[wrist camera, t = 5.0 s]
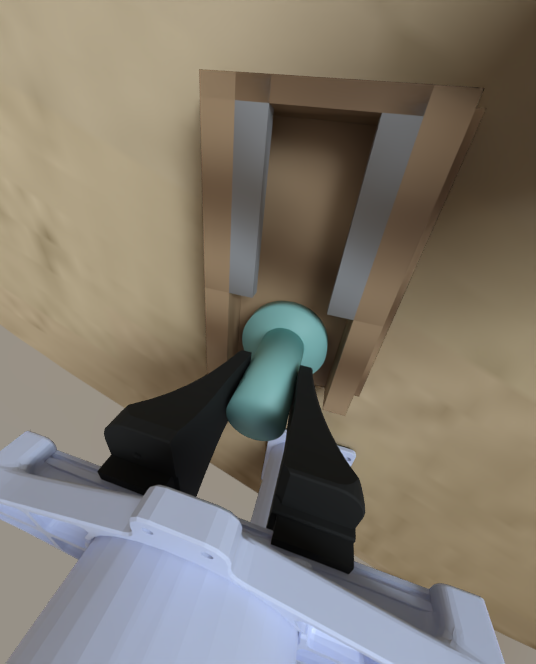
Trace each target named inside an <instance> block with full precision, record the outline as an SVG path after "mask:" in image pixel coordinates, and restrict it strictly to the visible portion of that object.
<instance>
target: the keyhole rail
mask: <svg viewBox="0 0 536 664" xmlns="http://www.w3.org/2000/svg"><path fill="white" fill-rule="evenodd" d="M199 83H200V122H201V161H202V200H203V239H204V277H205V316H206V355H207V374H208V373H210V372H212V371H213V370H215V369H216V368H218V367H219V366H220V365H222V364H223V363H225V362H226V361H227V360H229V359H230V358H231V357H233V356H234V355H235V354H236V353H238V352H239V351H241V350H244V347H243V342H242V335H243V330H244V327H245V325H246V323H247V322H248V320H249V319H250V318H251V316H252V315H253V313H254V312H255V311H256V310H257V309H258V308H260V307H261V306H263V305H265V304H267V303H270V302H275V301H291V302H295V303H298V304H301V305H303V306H305V307H307V308H309V309H310V310H312V311H313V312H314V313H315V314H316V315H317V316H318V317H319V318H320V319H321V321H322V322H323V324H324V326H325V328H326V331H327V335H328V345H327V354H326V358H325V360H324V363H323V364H322V366H321V367H320V368H319V369H318V370H317V371H316V372H315V373H313V381H314V385H317V386H321V387H325V391H324V402H323V410H325V411H329V412H333V413H336V414H340V415H343V416H345V415H346V413H347V410H348V408H349V406H350V403H351V401H352V399H353V396H358V397H359V395H360V393H361V391H362V388H363V386H364V384H365V382H366V379H367V377H368V375H369V373H370V370H371V368H372V366H373V364H374V361H375V359H376V357H377V354H378V352H379V350H380V348H381V345H382V343H383V341H384V339H385V336H386V334H387V332H388V330H389V327H390V325H391V323H392V321H393V318H394V316H395V314H396V312H397V309H398V307H399V305H400V303H401V300H402V298H403V296H404V293H405V291H406V289H407V287H408V284H409V282H410V280H411V278H412V275H413V273H414V271H415V269H416V266H417V264H418V262H419V260H420V257H421V255H422V253H423V251H424V248H425V246H426V244H427V241H428V239H429V237H430V235H431V232H432V230H433V228H434V226H435V223H436V221H437V219H438V217H439V214H440V212H441V210H442V208H443V205H444V203H445V201H446V199H447V196H448V194H449V192H450V190H451V187H452V185H453V183H454V180H455V178H456V176H457V174H458V171H459V169H460V167H461V165H462V162H463V160H464V158H465V156H466V153H467V151H468V149H469V147H470V144H471V142H472V140H473V138H474V135H475V133H476V131H477V129H478V126H479V124H480V122H481V119H482V117H483V115H484V113H485V110H486V108H476V107H477V105H478V103H479V100H480V98H481V96H482V93H483V91H484V89H485V88H478V87H463V86H447V85H432V84H417V83H401V82H386V81H371V80H356V79H340V78H325V77H310V76H294V75H279V74H264V73H249V72H233V71H218V70H203V69H199ZM244 351H245V350H244Z"/></svg>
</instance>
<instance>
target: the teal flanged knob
mask: <svg viewBox="0 0 536 664" xmlns="http://www.w3.org/2000/svg"><path fill="white" fill-rule="evenodd" d="M242 342H243V347H244V350H245V351H248V352H252V355H251V362H250V364H249V366H248V368H247V370H246V371H245V373H244V375H243V377H242V379H241V381H240V383H239V385H238V387H237V389H236V390H235V392H234V394H233V396H232V398H231V400H230V402H229V404H228V406H227V408H226V416H227V419H228V421H229V423H230V424H231V425H232V426H233V427H234V428H235V429H236V430H237V431H238V432H240V433H241V434H243V435H244V436H247V437H249V438H251V439H255V440H259V441H271V440H275V439H277V438H279V437H281V436H282V435H283V433H284V431H285V428H286V424H287V420H288V416H289V411H290V407H291V403H292V399H293V395H294V390H295V385H296V380H297V376H298V372H299V368H300V365H303V366H307V367H310V368H312V370H313V373H315V372H316V371H317V370H318V369H319V368H320V367H321V366H322V364H323V363H324V360H325V358H326V354H327V345H328V335H327V331H326V328H325V326H324V324H323V322H322V321H321V319H320V318H319V317H318V316H317V315H316V314H315V313H314V312H313V311H312V310H310V309H309V308H307V307H305V306H303V305H301V304H298V303H295V302H291V301H275V302H270V303H267V304H265V305H263V306H261V307H260V308H258V309H257V310H256V311H255V312H254V313H253V315H252V316H251V318H250V319H249V320H248V322H247V323H246V325H245V327H244V330H243V335H242Z"/></svg>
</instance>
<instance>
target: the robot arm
mask: <svg viewBox="0 0 536 664" xmlns="http://www.w3.org/2000/svg"><path fill="white" fill-rule="evenodd" d="M251 355H252V352H248V351H244V350H241V351H239V352H238V353H236V354H235V355H234V356H233V357H231V358H230V359H229V360H227V361H226V362H225V363H223V364H222V365H220V366H219V367H218V368H216V369H215V370H213V371H212V372H210V373H208V374H207V375H205V376H204V377H202V378H200V379H198V380H197V381H195V382H193V383H191V384H189V385H187V386H184V387H182V388H180V389H177V390H175V391H173V392H170V393H167V394H165V395H162V396H159V397H156V398H153V399H149V400H146V401H142V402H138V403H134V404H130V405H128V406H127V407H126V408H125V409H124V410H122V411H121V412H120V414H119V415H118V416H117V417H116V418H115V419H114V420H113V421H112V422H111V423H110V424H109V425H108V426H107V427H106V428H105V431H104V436H105V440H106V442H107V445H108V447H109V450H110V452H111V456H110V457H109V458H108V459H107V461H106V462H105V463H104V464H103V465H102V466H98V465H96V464H93V463H91V462H88V461H85V460H83V459H80V458H77V457H74V456H72V455H69V454H67V453H64V452H61V451H58V450H57V448H56V445H55V444H54V442H53V441H51V440H50V439H49V438H47V437H45V436H42V435H39V434H37V433H34V432H31V431H26V432H24V433H23V434H22V435H20V436H19V437H18V438H16V439H15V440H14V441H13V442H11V443H10V444H9V445H7V446H6V447H5V448H4V449H2V450H1V451H0V520H2V521H5V522H7V523H9V524H11V525H13V526H15V527H17V528H19V529H21V530H23V531H25V532H27V533H29V534H31V535H33V536H35V537H36V538H38V539H40V540H42V541H44V542H46V543H48V544H50V545H52V546H54V547H56V548H57V549H59V550H61V551H63V552H65V553H67V554H68V555H71V556H72V557H74V558H76V559H78V561H77V563H76V565H75V566H74V567H73V569H72V570H71V571H70V573H69V574H68V576H67V577H66V579H65V580H64V581H63V583H62V584H61V586H60V587H59V588H58V590H57V591H56V593H55V594H54V595H53V597H52V598H51V600H50V601H49V602H48V604H47V605H46V607H45V608H44V609H43V611H42V612H41V614H40V615H39V616H38V618H37V619H36V621H35V622H34V624H33V625H32V626H31V628H30V629H29V631H28V632H27V633H26V635H25V636H24V638H23V639H22V640H21V642H20V643H19V645H18V646H17V648H16V649H15V650H14V652H13V653H12V655H11V656H10V657H9V659H8V660H7V662H6V663H5V664H505V662H504V659H503V656H502V653H501V650H500V647H499V644H498V641H497V638H496V635H495V632H494V629H493V626H492V623H491V620H490V617H489V614H488V611H487V608H486V605H485V602H484V600H483V599H482V598H481V597H480V596H478V595H475V594H473V593H470V592H467V591H464V590H462V589H459V588H456V587H453V586H451V585H447V584H442V583H437V584H434V585H433V586H432V587H431V588H430V589H427V588H425V587H422V586H419V585H417V584H414V583H411V582H409V581H406V580H403V579H401V578H398V577H395V576H393V575H390V574H387V573H385V572H382V571H379V570H377V569H374V568H371V567H368V566H366V565H363V564H360V563H358V562H355V561H354V547H353V543H354V542H355V539H356V535H355V528H356V527H357V525H358V524H359V523H360V521H361V520H362V519H363V517H364V515H365V503H364V497H363V492H362V487H361V483H360V480H359V478H358V477H357V475H356V474H355V472H354V471H353V470H352V468H351V465H352V463H353V461H354V459H355V457H356V453H355V451H353V450H351V449H348V448H345V447H342V446H338V445H337V444H336V442H335V440H334V438H333V436H332V435H331V432H330V430H329V428H328V426H327V424H326V421H325V419H324V416H323V414H322V411H321V408H320V405H319V402H318V399H317V395H316V391H315V386H314V381H313V370H312V368H310V367H307V366H303V365H300V368H299V372H298V376H297V380H296V385H295V390H294V395H293V399H292V403H291V407H290V411H289V419H288V426H287V430H286V429H285V431H284V433H283V435H282V436H281V437H279V438H277V439H275V440H271V441H268V444H267V449H266V455H265V460H264V465H263V471H262V476H261V479H262V483H261V486H260V490H259V493H258V497H257V501H256V504H255V508H254V511H253V515H252V518H251V522H248V521H246V520H243V519H240V518H238V517H237V516H235V515H234V514H233V513H232V512H231V511H229V510H227V509H225V508H223V507H221V506H219V505H216V504H213V503H211V502H208V501H205V500H202V499H200V498H197V497H196V496H197V494H198V491H199V488H200V486H201V483H202V480H203V478H204V475H205V473H206V470H207V468H208V465H209V463H210V460H211V458H212V455H213V453H214V451H215V448H216V446H217V444H218V441H219V439H220V437H221V434H222V432H223V430H224V428H225V426H226V424H227V422H228V419H227V416H226V408H227V406H228V404H229V402H230V400H231V398H232V396H233V394H234V392H235V390H236V389H237V387H238V385H239V383H240V381H241V379H242V377H243V375H244V373H245V371H246V370H247V368H248V366H249V364H250V362H251Z"/></svg>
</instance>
